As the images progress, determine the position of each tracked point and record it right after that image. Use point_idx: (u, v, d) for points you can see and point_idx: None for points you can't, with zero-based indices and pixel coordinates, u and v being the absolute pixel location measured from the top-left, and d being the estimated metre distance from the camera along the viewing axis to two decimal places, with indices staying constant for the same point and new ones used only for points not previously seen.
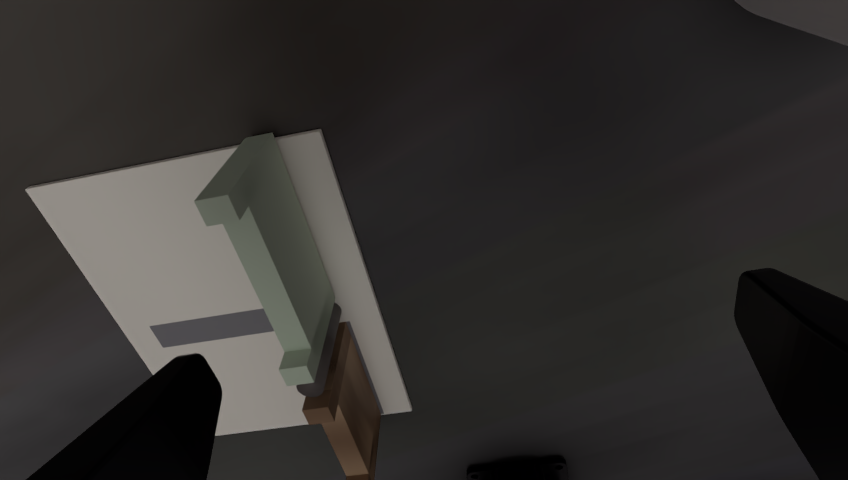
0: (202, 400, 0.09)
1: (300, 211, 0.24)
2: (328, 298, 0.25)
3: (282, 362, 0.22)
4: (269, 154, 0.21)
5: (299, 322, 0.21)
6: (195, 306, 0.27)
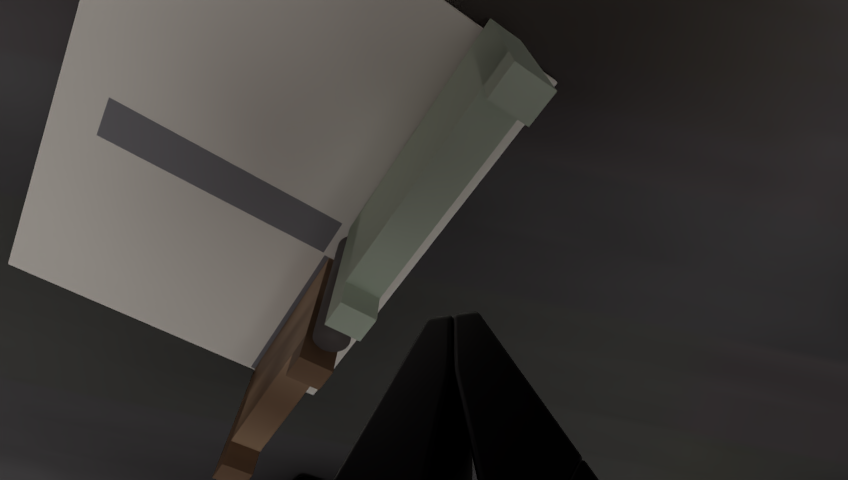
0: None
1: None
2: None
3: (344, 294, 0.15)
4: None
5: (404, 265, 0.15)
6: (203, 124, 0.18)
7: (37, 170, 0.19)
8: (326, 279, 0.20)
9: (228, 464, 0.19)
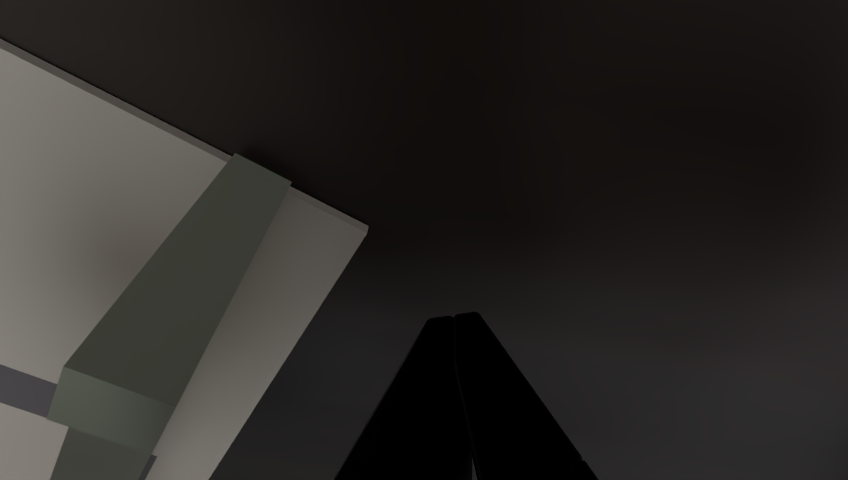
0: None
1: None
2: None
3: None
4: None
5: None
6: None
7: None
8: None
9: None
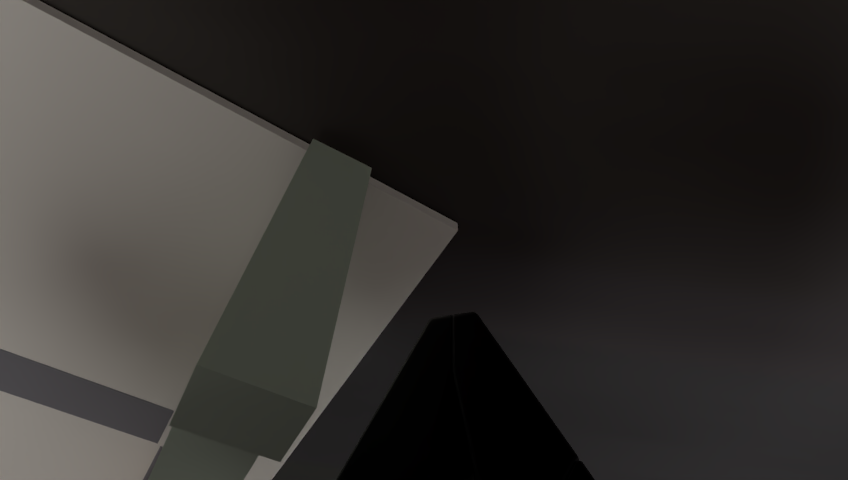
0: None
1: None
2: None
3: None
4: None
5: None
6: None
7: None
8: None
9: None
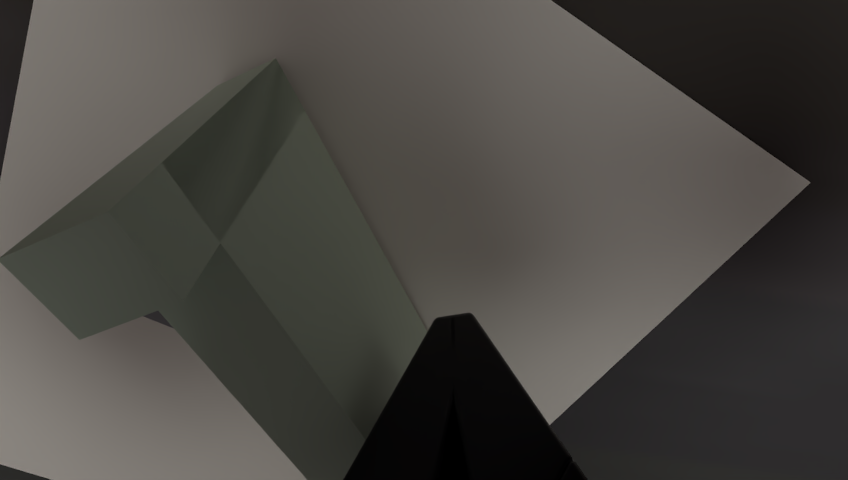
0: None
1: (369, 235, 0.11)
2: None
3: None
4: (275, 104, 0.08)
5: None
6: None
7: None
8: None
9: None
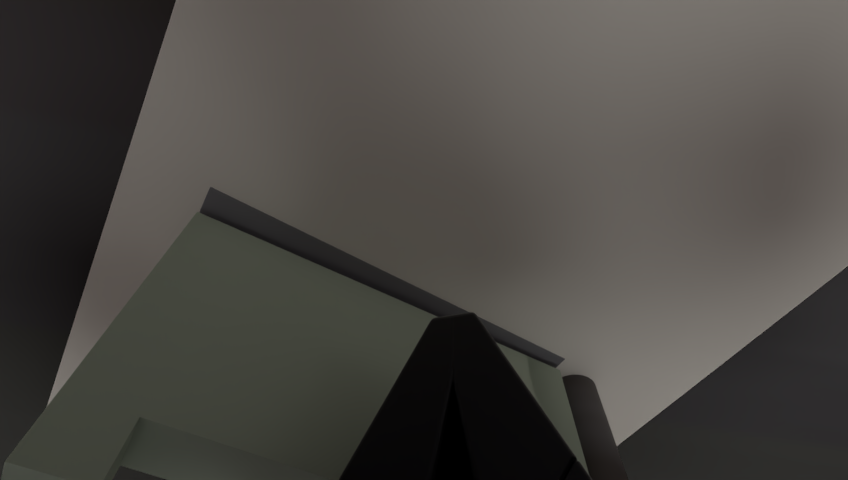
0: None
1: (364, 291, 0.11)
2: (542, 388, 0.12)
3: None
4: (201, 253, 0.10)
5: None
6: (365, 224, 0.11)
7: (87, 297, 0.12)
8: None
9: None
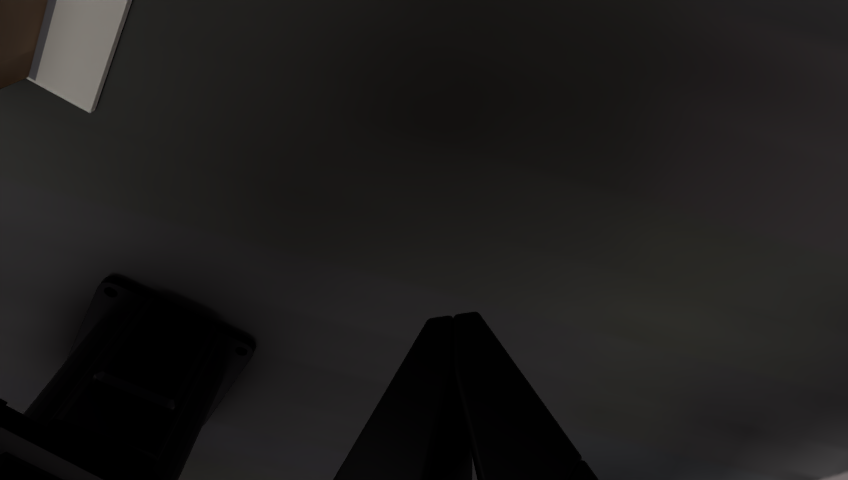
0: None
1: None
2: None
3: None
4: None
5: None
6: None
7: None
8: None
9: None
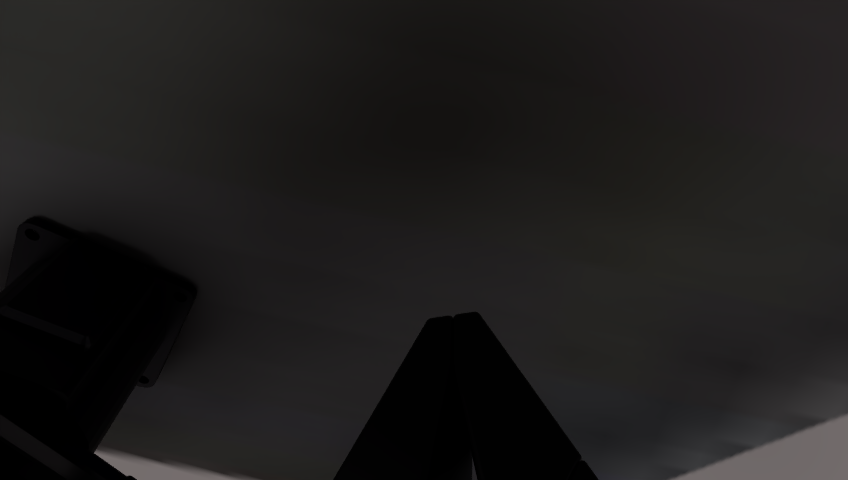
0: None
1: None
2: None
3: None
4: None
5: None
6: None
7: None
8: None
9: None
